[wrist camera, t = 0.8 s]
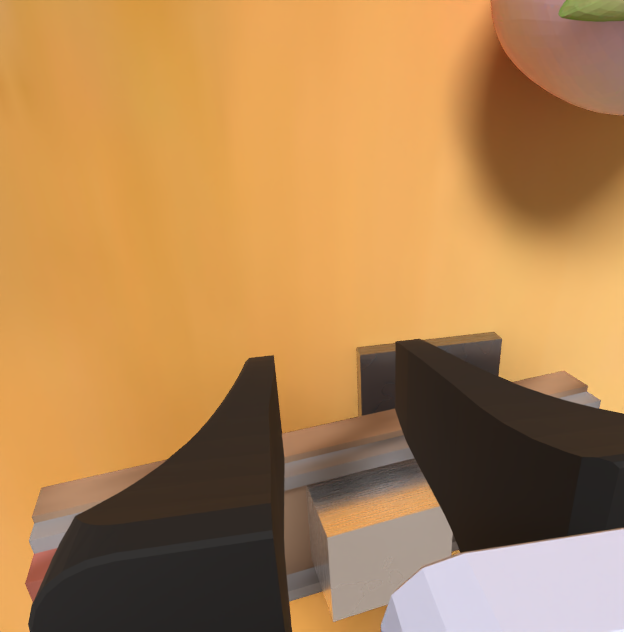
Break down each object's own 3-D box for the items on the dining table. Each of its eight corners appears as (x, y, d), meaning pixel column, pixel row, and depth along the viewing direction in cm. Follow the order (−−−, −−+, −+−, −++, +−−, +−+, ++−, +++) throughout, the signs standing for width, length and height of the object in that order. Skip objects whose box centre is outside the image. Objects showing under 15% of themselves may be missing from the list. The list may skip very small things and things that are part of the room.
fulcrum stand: (494, 332, 24) (537, 371, 21) (479, 493, 29) (513, 549, 25) (356, 347, 24) (376, 390, 20) (361, 510, 28) (378, 570, 24)
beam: (563, 370, 24) (624, 409, 21) (545, 486, 27) (596, 535, 23) (41, 487, 18) (16, 563, 15) (87, 617, 21) (75, 703, 18)
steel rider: (417, 452, 21) (454, 501, 18) (415, 529, 23) (449, 584, 20) (305, 480, 20) (327, 537, 17) (312, 559, 22) (332, 621, 19)
